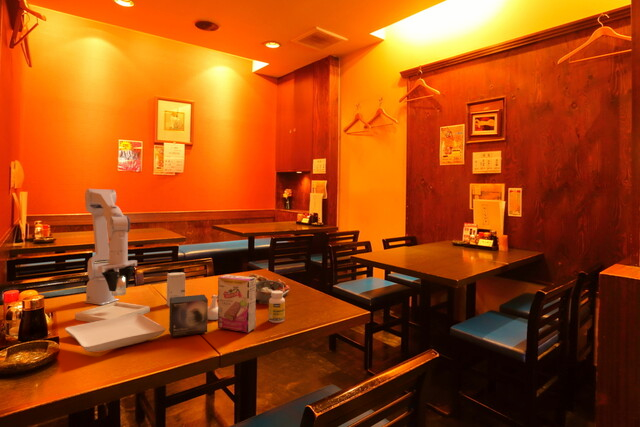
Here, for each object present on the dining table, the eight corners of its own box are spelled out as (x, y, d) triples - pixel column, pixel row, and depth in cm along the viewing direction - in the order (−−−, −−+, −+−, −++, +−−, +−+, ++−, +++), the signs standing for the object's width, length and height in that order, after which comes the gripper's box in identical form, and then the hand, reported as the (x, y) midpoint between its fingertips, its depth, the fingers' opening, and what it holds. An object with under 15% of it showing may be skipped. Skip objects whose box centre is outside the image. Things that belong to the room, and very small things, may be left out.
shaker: (108, 295, 129) (108, 276, 129) (119, 292, 133) (119, 274, 133) (118, 296, 127) (118, 277, 127) (128, 293, 131) (128, 275, 131)
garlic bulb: (206, 315, 131) (206, 292, 130) (224, 315, 131) (224, 293, 130) (201, 321, 124) (201, 297, 124) (219, 321, 124) (220, 297, 124)
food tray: (306, 297, 159) (306, 272, 159) (285, 314, 135) (285, 285, 135) (233, 291, 169) (233, 267, 168) (200, 306, 144) (200, 278, 144)
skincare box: (168, 307, 139) (168, 275, 139) (166, 304, 143) (166, 273, 142) (185, 305, 142) (185, 273, 142) (182, 302, 146) (182, 271, 146)
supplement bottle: (272, 324, 122) (272, 294, 122) (266, 319, 127) (266, 290, 127) (287, 321, 125) (287, 292, 124) (280, 317, 129) (281, 289, 129)
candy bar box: (216, 328, 117) (217, 277, 116) (225, 324, 121) (226, 274, 121) (248, 333, 113) (248, 280, 113) (256, 328, 118) (256, 276, 117)
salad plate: (139, 322, 123) (139, 312, 123) (167, 339, 108) (167, 327, 108) (63, 338, 108) (63, 326, 108) (83, 361, 93) (83, 347, 93)
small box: (170, 338, 108) (171, 302, 108) (168, 331, 114) (168, 297, 114) (208, 332, 113) (208, 298, 113) (204, 326, 119) (204, 293, 119)
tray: (74, 319, 123) (74, 313, 123) (116, 306, 138) (116, 301, 138) (110, 325, 118) (110, 319, 118) (149, 311, 133) (149, 306, 133)
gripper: (109, 254, 122) (109, 295, 122) (143, 249, 135) (143, 286, 136) (93, 252, 124) (93, 293, 124) (128, 247, 138) (128, 284, 138)
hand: (118, 289), depth 130 cm, fingers closed on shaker, 4 cm apart
